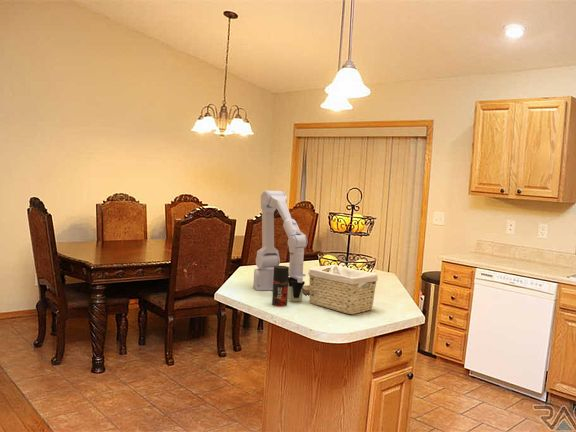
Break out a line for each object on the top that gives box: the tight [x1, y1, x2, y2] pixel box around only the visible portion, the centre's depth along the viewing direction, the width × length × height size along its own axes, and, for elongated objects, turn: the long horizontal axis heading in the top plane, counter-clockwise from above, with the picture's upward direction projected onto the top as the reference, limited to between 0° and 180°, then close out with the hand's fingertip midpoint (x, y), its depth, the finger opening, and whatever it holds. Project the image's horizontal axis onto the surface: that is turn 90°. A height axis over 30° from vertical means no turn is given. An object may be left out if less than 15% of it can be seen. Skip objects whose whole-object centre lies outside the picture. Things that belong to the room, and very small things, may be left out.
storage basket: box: [308, 264, 379, 315], centre depth 194 cm, size 24×16×15 cm
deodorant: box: [271, 265, 290, 308], centre depth 192 cm, size 6×6×15 cm
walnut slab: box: [302, 284, 313, 297], centre depth 214 cm, size 8×8×3 cm
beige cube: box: [287, 286, 303, 302], centre depth 202 cm, size 5×5×5 cm
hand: (294, 296), depth 202 cm, fingers closed on beige cube, 5 cm apart
